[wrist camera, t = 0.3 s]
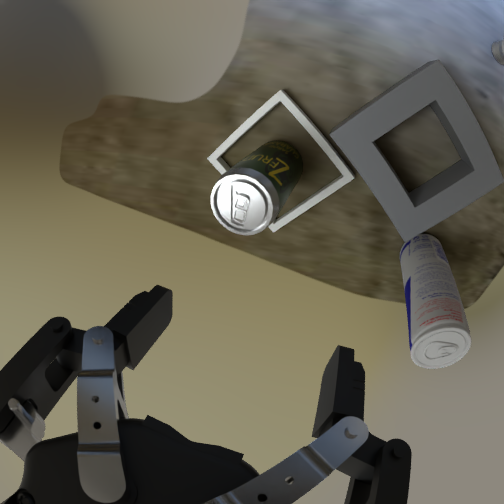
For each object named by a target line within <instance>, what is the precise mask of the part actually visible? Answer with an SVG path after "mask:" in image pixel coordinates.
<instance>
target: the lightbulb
mask: <svg viewBox="0 0 504 504" xmlns="http://www.w3.org/2000/svg"><path fill="white" fill-rule="evenodd" d="M492 53H493V56H494V58H495V59H496V60H497V61H498V62H499V63H500V64H502V65H504V39H503V40H501V41H496V42H494V43H493V44H492Z"/></svg>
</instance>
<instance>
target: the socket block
mask: <svg viewBox="0 0 504 504" xmlns="http://www.w3.org/2000/svg"><path fill="white" fill-rule="evenodd" d="M428 104H430V106H431V107H432V109H433V110H434V112H435V113H436V115H437V117H438V118H439V120H440V122H441V123H442V125H443V126H444V128H445V130H446V132H447V133H448V135H449V137H450V139H451V140H452V142H453V144H454V146H455V148H456V150H457V151H458V153H459V155H460V157H461V159H462V160H460V161H458V162H457V163H455V164H454V165H452V166H451V167H449V168H448V169H446V170H444V171H443V172H441V173H440V174H438V175H437V176H435V177H433V178H432V179H430V180H429V181H427V182H426V183H424V184H422V185H421V186H419V187H418V188H416V189H414V190H413V191H411V192H410V193H408V191H407V190H406V188H405V187H404V185H403V183H402V182H401V180H400V179H399V177H398V175H397V174H396V172H395V171H394V169H393V168H392V166H391V165H390V163H389V162H388V160H387V159H386V157H385V156H384V155H383V153H382V152H381V150H380V149H379V147H378V146H377V145H376V143H375V142H374V141H375V140H376V139H378V138H379V137H381V136H382V135H384V134H385V133H387V132H388V131H390V130H391V129H393V128H394V127H395V126H397V125H398V124H400V123H401V122H403V121H404V120H406V119H407V118H409V117H410V116H412V115H413V114H415V113H416V112H418V111H419V110H421V109H422V108H424V107H425V106H427V105H428ZM329 135H330V136H331V137H332V139H333V140H334V141H335V142H336V144H337V145H338V146H339V147H340V149H341V150H342V151H343V153H344V154H345V155H346V156H347V158H348V159H349V160H350V162H351V163H352V164H353V166H354V167H355V168H356V170H357V171H358V172H359V174H360V175H361V177H362V178H363V179H364V181H365V182H366V184H367V185H368V186H369V188H370V189H371V191H372V192H373V194H374V195H375V197H376V198H377V199H378V201H379V202H380V204H381V205H382V207H383V208H384V210H385V212H386V213H387V215H388V216H389V218H390V219H391V221H392V222H393V224H394V226H395V227H396V229H397V230H398V232H399V234H400V235H401V237H402V239H403V240H404V242H406V241H408V240H410V239H412V238H413V237H415V236H417V235H419V234H420V233H422V232H424V231H426V230H427V229H429V228H431V227H433V226H434V225H436V224H438V223H439V222H441V221H443V220H444V219H446V218H448V217H449V216H451V215H453V214H454V213H456V212H458V211H459V210H461V209H462V208H464V207H466V206H467V205H469V204H471V203H472V202H474V201H475V200H477V199H478V198H480V197H482V196H483V195H485V194H486V193H488V192H489V191H491V190H492V189H494V188H495V187H497V186H498V185H500V184H501V183H503V182H504V179H503V177H502V174H501V171H500V169H499V166H498V164H497V162H496V159H495V157H494V155H493V152H492V150H491V148H490V146H489V143H488V141H487V139H486V137H485V135H484V133H483V131H482V129H481V127H480V125H479V123H478V121H477V119H476V118H475V116H474V114H473V112H472V110H471V109H470V107H469V105H468V103H467V102H466V100H465V98H464V97H463V95H462V93H461V92H460V90H459V88H458V87H457V85H456V84H455V82H454V81H453V79H452V78H451V76H450V75H449V73H448V72H447V70H446V69H445V67H444V66H443V65H442V63H441V62H440V60H435V61H431V62H428V63H426V64H425V65H423V66H422V67H420V68H419V69H417V70H416V71H414V72H413V73H411V74H410V75H408V76H407V77H405V78H404V79H402V80H401V81H399V82H398V83H396V84H395V85H393V86H392V87H390V88H389V89H387V90H386V91H384V92H383V93H382V94H380V95H379V96H377V97H376V98H374V99H373V100H372V101H370V102H369V103H367V104H366V105H364V106H363V107H362V108H360V109H359V110H357V111H356V112H355V113H353V114H352V115H350V116H349V117H348V118H346V119H345V120H344V121H342V122H341V123H339V124H338V125H337V126H335V127H334V128H333V129H332V130H331V132H330V134H329Z"/></svg>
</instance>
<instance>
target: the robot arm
mask: <svg viewBox="0 0 504 504" xmlns="http://www.w3.org/2000/svg"><path fill="white" fill-rule="evenodd" d="M171 318H172V290H169V289H167V288H165V287H162V286H159V285H156V286H155V287H154V288H153V289H152V290H151V291H150V292H146V291H144V292H142V293H140V294H137V295H135V296H134V297H133V298H132V299H131V300H130V301H129V303H127V304H126V305H125V306H124V308H122V309H121V310H120V311H119V312H118V313H117V314H116V315H115V316H114V317H113V318H112V319H111V320H110V321H109V322H108V323H107V324H106V325H105V326H104V327H103V326H96V327H92V328H90V329H89V330H87V331H84V330H80V329H76V328H72V327H71V324H70V322H69V320H68V319H66V318H64V317H54V318H52V319H50V320H49V321H48V322H47V323H46V324H45V325H44V326H43V327H42V328H41V329H40V330H39V331H38V332H37V333H36V334H35V335H34V336H33V337H32V338H31V339H30V340H29V341H28V342H27V343H26V344H25V345H24V346H23V347H22V348H21V349H20V350H19V351H18V352H17V353H16V354H15V355H14V357H13V358H12V359H11V360H10V361H9V362H8V363H7V364H6V365H5V366H4V367H3V369H2V370H1V371H0V442H1V443H3V444H4V445H5V446H7V447H8V448H9V449H10V450H12V451H13V452H14V453H15V454H16V455H18V456H19V457H20V458H21V459H22V460H23V461H24V462H25V463H24V474H23V478H22V482H21V485H20V487H19V489H18V490H17V491H16V492H15V494H13V495H12V496H10V497H9V498H8V499H6V500H5V501H3V502H2V503H1V504H292V503H293V502H295V501H296V500H298V499H299V498H300V497H302V496H303V495H304V494H306V493H307V492H309V491H310V490H311V489H312V488H314V487H315V486H316V485H318V484H319V483H320V482H321V481H323V480H324V479H325V478H326V477H327V476H329V474H331V472H332V471H333V470H335V469H337V470H339V471H341V472H343V473H345V474H347V475H349V476H351V478H350V482H349V487H348V491H347V495H346V499H345V503H344V504H407V499H408V490H409V481H410V470H411V449H410V447H409V445H408V444H407V443H406V442H405V441H403V440H401V439H392V440H389V441H388V442H386V441H384V440H382V439H379V438H377V437H376V436H374V435H372V434H371V433H370V432H369V431H368V428H367V425H366V424H365V423H364V418H363V417H364V395H365V391H364V390H365V384H364V383H365V371H364V369H363V366H362V364H361V363H359V362H355V361H354V349H351V348H347V347H343V346H339V345H338V346H337V348H336V350H335V351H334V353H333V355H332V357H331V359H330V360H329V362H328V364H327V366H326V368H325V371H324V374H323V377H322V383H321V390H320V395H319V402H318V407H317V413H316V418H315V423H314V428H313V433H312V437H315V438H317V439H316V440H315V441H313V442H312V443H311V444H309V445H308V446H306V447H303V448H301V449H299V450H298V451H297V452H295V453H294V454H292V455H291V456H289V457H288V458H286V459H285V460H284V461H282V462H280V463H279V464H277V465H276V466H274V467H272V468H271V469H269V470H267V471H266V472H264V473H263V474H261V475H259V473H258V472H257V471H256V470H255V469H254V468H253V467H252V466H251V465H249V464H248V463H247V462H245V461H244V460H242V458H243V455H244V454H242V453H239V452H235V451H233V450H230V449H227V448H224V447H221V446H217V445H210V444H203V443H197V442H192V441H190V440H188V439H187V438H185V437H184V436H183V435H181V434H180V433H179V432H178V431H176V430H175V429H174V428H172V427H171V426H170V425H168V424H165V423H163V422H161V421H159V420H157V419H155V418H153V417H151V416H149V415H147V417H146V419H145V420H143V419H134V418H132V419H131V418H129V417H128V413H127V409H126V403H125V395H124V385H123V375H122V371H123V369H124V368H125V367H128V368H130V369H132V370H134V368H135V367H136V366H137V365H138V363H139V362H140V361H141V359H142V358H143V357H144V356H145V354H146V353H147V352H148V350H149V349H150V348H151V346H152V345H153V344H154V342H156V340H157V339H158V337H159V336H160V335H161V334H162V333H163V331H164V330H165V329H166V327H167V326H168V325H169V323H170V321H171ZM51 362H52V363H51ZM50 363H51V364H50ZM77 376H78V377H77ZM76 377H77V419H78V432H76V433H72V434H68V435H64V436H61V437H56V438H52V439H47V440H44V441H42V438H43V437H44V431H45V422H44V420H45V418H46V417H47V416H48V414H49V413H50V411H51V410H52V409H53V407H54V406H55V405H56V403H57V402H58V401H59V399H60V398H61V397H62V395H63V394H64V393H65V391H66V390H67V389H68V387H69V386H70V385H71V383H72V382H73V381H74V380H75V378H76Z"/></svg>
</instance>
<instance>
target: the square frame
mask: <svg viewBox="0 0 504 504" xmlns="http://www.w3.org/2000/svg"><path fill="white" fill-rule="evenodd" d="M280 102H282V103H283V104H284V105H285V107H286V108H287V109H288V110H289V111H290V112H291V113H292V114H293V115H294V116H295V118H296V119H297V120H298V121H299V122H300V123H301V124H302V126H303V127H304V128H305V129H306V130H307V131H308V133H309V134H310V135H311V136H312V137H313V138H314V140H315V141H316V142H317V143H318V144H319V146H320V147H321V148H322V149H323V151H324V152H325V153H326V154H327V156H328V157H329V158H330V159H331V161H332V162H333V163H334V164H335V166H336V167H337V168H338V169H339V171H340V172H341V173H342V175H341V176H339V177H338V178H336V179H335V180H333V181H332V182H330V183H329V184H327V185H326V186H325V187H323V188H322V189H320V190H319V191H317V192H316V193H314V194H313V195H311V196H310V197H309V198H307V199H306V200H304V201H303V202H301V203H300V204H298V205H297V206H295V207H294V208H293V209H291V210H290V211H288V212H287V213H285V214H284V215H282V216H281V217H280V218H278V219H277V220H276V219H275V221H274V222H273V223H272V224H271V225H269V226H268V227H269V228H270V229H271V230H272V232H275V231H276V230H278V229H279V228H281V227H282V226H284V225H285V224H287V223H288V222H290V221H291V220H293V219H294V218H296V217H297V216H299V215H300V214H302V213H303V212H305V211H306V210H308V209H309V208H311V207H312V206H314V205H315V204H317V203H318V202H320V201H321V200H323V199H324V198H326V197H327V196H329V195H330V194H332V193H333V192H335V191H336V190H338V189H339V188H341V187H342V186H344V185H345V184H347V183H348V182H350V181H351V180H353V179H354V178H355V175H354V174H353V172H352V171H351V170H350V168H349V167H348V166H347V164H346V163H345V162H344V160H343V159H342V158H341V156H340V155H339V154H338V153H337V151H336V150H335V149H334V148H333V146H332V145H331V144H330V143H329V141H328V140H327V139H326V138H325V137H324V135H323V134H322V133H321V132H320V130H319V129H318V128H317V127H316V126H315V125H314V123H313V122H312V121H311V120H310V119H309V118H308V116H307V115H306V114H305V113H304V112H303V111H302V110H301V109H300V107H299V106H298V105H297V104H296V103H295V102H294V101H293V100H292V99H291V98H290V97H289V95H288V94H287V93H286V92H285V91H284V90H280V91H279V92H277V93H276V94H275V95H274V96H273V97H272V98H271V99H269V100H268V101H267V102H266V103H265V104H264V105H263V106H262V107H260V108H259V109H258V110H257V111H256V112H255V113H254V114H253V115H252V116H251V117H250V118H248V119H247V120H246V121H245V122H244V123H243V124H242V125H241V126H240V127H239V128H238V129H237V130H236V131H235V132H234V133H233V134H232V135H231V136H229V137H228V138H227V139H226V140H225V141H224V142H223V143H222V144H221V145H220V146H219V147H218V148H217V149H216V150H215V151H214V152H213V153H212V154H211V155H210V156H209V157H208V158H207V159H208V160H209V161H210V162H211V163H212V164H213V166H214V167H215V168H216V169H217V170H218V171H219V172H220V173H221V174H223V173H225V172H226V171H227V170H229V169H230V167H229V165H228V164H227V163H226V162H225V161H224V160H223V159H222V158H221V156H222V155H223V154H224V153H225V152H226V151H227V150H228V149H229V148H230V147H231V146H232V145H233V144H234V143H235V142H236V141H238V140H239V139H240V138H241V137H242V136H243V135H244V134H245V133H246V132H247V131H248V130H249V129H250V128H252V127H253V126H254V125H255V124H256V123H257V122H258V121H259V120H260V119H262V118H263V117H264V116H265V115H266V114H267V113H268V112H269V111H271V110H272V109H273V108H274V107H275V106H276V105H278V104H279V103H280Z"/></svg>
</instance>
